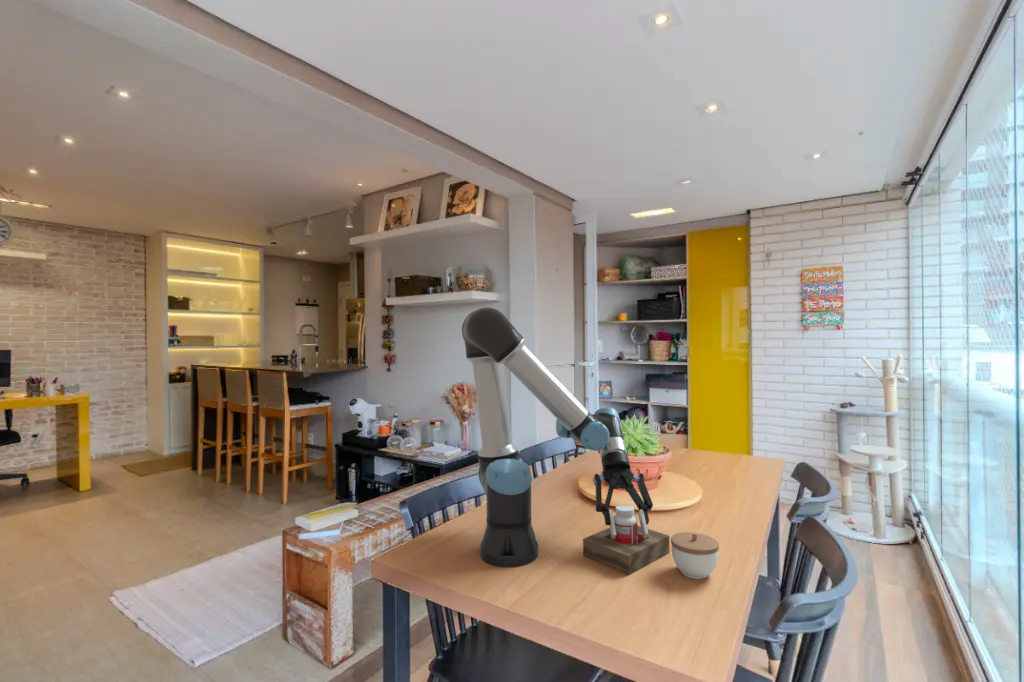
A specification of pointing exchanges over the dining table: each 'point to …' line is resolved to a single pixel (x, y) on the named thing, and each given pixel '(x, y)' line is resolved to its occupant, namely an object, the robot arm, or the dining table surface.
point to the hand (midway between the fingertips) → (630, 536)
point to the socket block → (626, 550)
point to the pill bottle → (626, 525)
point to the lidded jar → (694, 554)
